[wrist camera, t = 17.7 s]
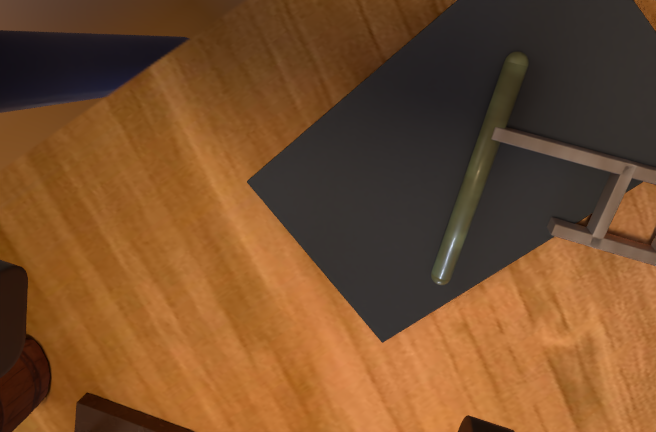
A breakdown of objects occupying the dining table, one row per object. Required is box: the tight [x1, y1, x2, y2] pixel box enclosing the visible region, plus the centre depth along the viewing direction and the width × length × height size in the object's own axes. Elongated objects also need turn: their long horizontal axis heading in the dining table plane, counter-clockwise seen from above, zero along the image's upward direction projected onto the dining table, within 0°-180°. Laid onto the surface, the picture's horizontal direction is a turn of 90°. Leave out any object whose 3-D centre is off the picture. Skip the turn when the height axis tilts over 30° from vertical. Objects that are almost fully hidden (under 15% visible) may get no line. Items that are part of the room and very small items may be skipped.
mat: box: [247, 0, 656, 343], centre depth 35 cm, size 26×16×1 cm, turn 130°
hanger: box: [431, 52, 656, 285], centre depth 33 cm, size 16×2×14 cm
